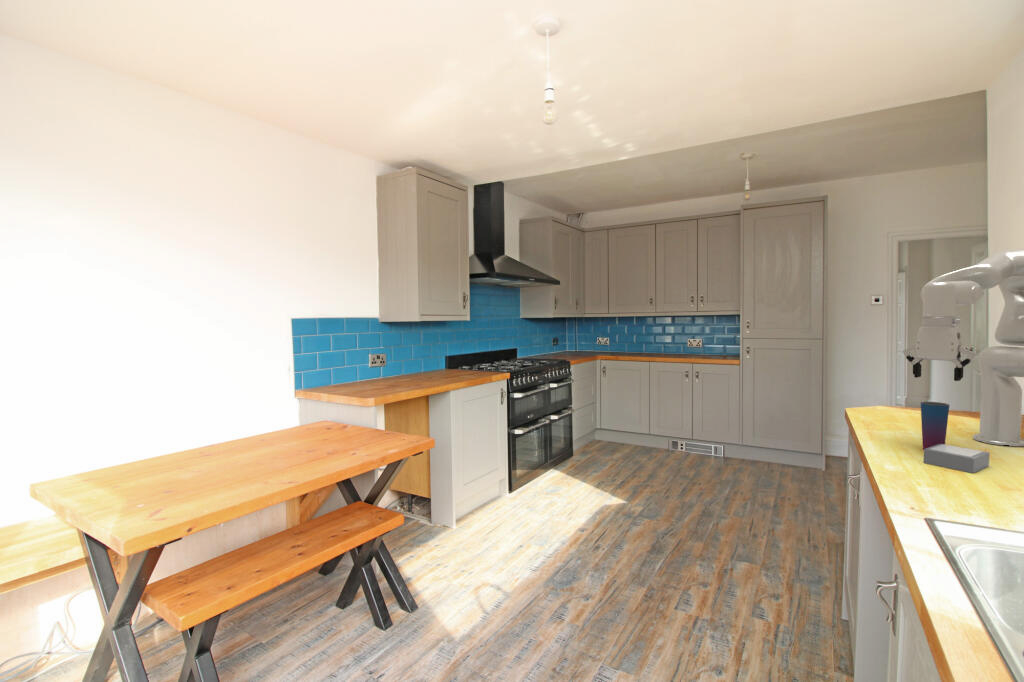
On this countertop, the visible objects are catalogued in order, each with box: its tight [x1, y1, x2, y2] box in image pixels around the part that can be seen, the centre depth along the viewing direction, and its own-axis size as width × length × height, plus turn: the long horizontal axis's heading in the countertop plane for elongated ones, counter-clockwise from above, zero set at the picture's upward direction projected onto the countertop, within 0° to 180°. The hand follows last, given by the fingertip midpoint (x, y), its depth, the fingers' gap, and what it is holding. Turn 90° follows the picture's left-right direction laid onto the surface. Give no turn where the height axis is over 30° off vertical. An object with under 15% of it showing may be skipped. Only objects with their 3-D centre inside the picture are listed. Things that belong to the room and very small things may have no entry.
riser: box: [922, 443, 990, 474], centre depth 139 cm, size 11×11×4 cm
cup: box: [920, 401, 950, 451], centre depth 152 cm, size 7×7×15 cm
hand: (937, 378), depth 149 cm, fingers open, 9 cm apart
